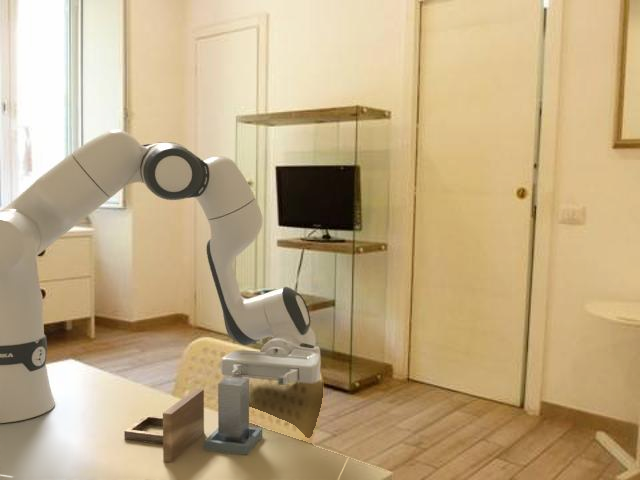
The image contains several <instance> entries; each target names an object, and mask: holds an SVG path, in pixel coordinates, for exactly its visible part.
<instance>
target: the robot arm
mask: <svg viewBox="0 0 640 480" xmlns="http://www.w3.org/2000/svg"><path fill="white" fill-rule="evenodd" d="M134 183H135V184H136V183H142V184H144V185H145V187H146V188H147V189H148V190H149V191H150V192H152V194H154V195H155V196H157V197H158V198H159V199H164V200H167V201H168V200H169V201H180V200H184V199H190V198H195V199H196V200H197V202H198V203H199V205H200V207H201V208H202V211H203V212H204V215H205V217H206V219H207V221H208V224H209V227H210V239H209V240H208V241H207V243H206V255H207V260H208V264H209V269H210V272H211V275H212V280H213V282H214V286H215V290H216V292H217V296H218V299H219V303H220V306H221V310H222V313H223V314H222V315H223V321H224V326H225V330H226V334H227V335H228V337H229V338H230V339H231V340H233V341H234V342H236V343H238V344H240V345H242V346H248V345H252V344H254V343H257V342H259V341H261V340H264V339H267V338H270V337H272V338H271V339H270V340H268V341H267V342H266V343H265V344H264V345H263V346H262V347H261V349H260V351H257V350H246V349H243V350H242V349H239V350H235V351H231V352H230V353H228V354H226V355H223V356H222V357H221V358H220V373H221V374H222V375H223V376H225V377H227V376H229V377H239V378H249V379H257V380H259V379H260V380H267V381H269V380H270V381H278V383H277V384H278V385H279V386H280V385H281V386H287V385H288V384H291V383H300V384H301V383H302V384H309V385H311V384H317V383H318V382H319V381H320V378H321V366H322V361H321V348H320V346H318V345H316V343H317V342H316V335H315V333H314V330H313V329H312V327H311V317H310V312H309V308H308V306H307V303H306V301H305V299H304V297H303V296H302V295H301V294H300V293H298V292H297V291H296V290H294V289H293V288H290V287H288V286H284V287H281V288H277V289H274V290H270V291H267V292H265V293H262V294H260V295H256V296H253V297H250V298H245V297H244V296H243V295H242V294H241V291H240V288H239V284H238V281H237V277H236V274H235V271H234V261H235V259H236V258H237V257H238V256H239V255H240V254H241V253H242V252H244V251H245V250H246V249H247V248H248V247H250V245H251V244H252V243H253V242H254V241H255V240H256V238H258V236H259V234H260V233H261V229H262V226H263V214H262V211H261V209H260V205H259V203H258V201H257V198H256V196H255V194H254V192H253V190H252V189H251V187H250V184H249V183H248V181H247V179H246V177H245V176H244V174H243V173H242V171H241V169H240V168H239V167H238V165H237V164H236V163H235V161H234V160H233V159H231V158H230V157H227V156H212V157H210V158H207V159H205V160H203V159H201V158H200V157H198V156H196V154H194V152H192V151H190V150H189V149H187V148H186V147H185V146H184V145H181V144H180V143H176V142H172V141H171V142H170V141H164V142H162V141H161V142H160V141H159V142H154V143H147V144H141V143H140V142H139V141H138V140H137V139H136V138H135V137H134V136H133V135H132V134H130V133H129V132H127V131H124V130H121V129H110V130H109V131H107V132H104V133H102V134H100V135H98V136H96V137H94V138H93V139H91V140H89V141H87V142H86V143H84V144H83V145H81V146H80V147H78V148H77V149H75V150H74V151H73V152H72V153H70V154H69V155H67V156H66V157H65V158H63V159H62V160H60V161H59V162H58V163H57V164H55V165H54V166H53V167H52V168H51V169H49V170H48V171H47V172H45V173H44V174H42V175H41V176H40V177H39V178H37V179H36V180H35V181H34V182H33V183H32V184H31V185H30V186H29V187H27V188H26V190H25V191H23V192H22V193H21V194H20V195H19V196H17V197H16V198H14V200H12V201H11V202H10V203H9V204H8V205H7V206H5V207H4V208H2V209H1V210H0V424H4V423H13V422H14V423H15V422H19V421H24V420H28V419H33V418H34V417H38V416H41V415H43V414H45V413H48V412H49V411H50V410H52V409H53V408H54V407H55V405H56V401H55V398H54V395H53V392H52V389H51V383H50V379H49V374H48V368H47V355H48V345H47V344H48V342H47V341H48V340H47V335H46V334H45V332H44V331H45V328H44V327H45V326H44V299H43V298H44V297H43V294H42V293H43V292H42V289H41V284H40V277H39V271H38V263H37V257H38V255H40V254H42V253H43V252H44V251H45V250H47V249H48V248H49V247H50V246H52V245H53V244H54V243H56V241H58V240H59V239H60V238H61V237H63V236H65V234H66V233H68V232H70V231H71V230H72V229H73V228H74V227H75V226H77V225H78V224H79V223H81V222H82V221H83V220H85V219H86V218H87V217H88V216H90V215H91V214H92V213H93V212H94V211H96V210H97V209H98V208H100V207H102V205H104V204H105V203H106V202H108V201H109V200H110V199H111V198H113V197H114V196H116V194H118V193H119V192H120V191H121V190H122V189H124V188H126V187H127V186H129V185H132V184H134Z"/></svg>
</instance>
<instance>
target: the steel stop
mask: <svg viewBox="0 0 640 480" xmlns="http://www.w3.org/2000/svg"><path fill="white" fill-rule="evenodd" d="M217 388H218V389H217V392H218V393H217V395H218V396H217V400H218V401H217V402H218V403H217V405H218V406H217V411H218V412H217V413H218V414H217V418H218V425H217V426H218V427H217V428H218V441H225V442H233V443H241V444H244V443H245V442H246V441H247V440H248V439H249V438H250V437H249V427H250V378H246V377H242V378H239V377H232V376H225V377H224V378H223V379H222V380H221V381H219V383H217Z"/></svg>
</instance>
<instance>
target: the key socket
mask: <svg viewBox="0 0 640 480" xmlns="http://www.w3.org/2000/svg"><path fill="white" fill-rule="evenodd" d="M148 426H155V427H162V428H163V416H161V415H160V416H159V415H151V414H150V415H149V414H146V415H145V416H144V417H142V418H140V419H139V420H138V421H136V422H135V423H134V424H132V425H131V426H129V427H128V428H126V429H124V435H123V436H124V440H128V441H135V442H143V443H148V444H149V443H150V444H157V445H158V444H159V445H163V432H162V433H160V432H153V431H145V430H144V429H145V428H146V427H148Z"/></svg>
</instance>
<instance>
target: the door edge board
mask: <svg viewBox="0 0 640 480" xmlns="http://www.w3.org/2000/svg"><path fill="white" fill-rule="evenodd" d="M204 390H205V389H204V388H195V389H194V390H192V391H191V392H189V393H188V394H186V395H185V396H184V397H183V398H181V399H180V400H178V401H177V402H176V403H175V404H173V405H172V406H170V407H169V408H168V409H166V410H165V411H164V412H162V417H163V427H162V433H163V444H162V447H163V448H162V451H163V453H162V455H163V457H162V458H163V459H162V461H163V462H166V463H167V462H168V463H174V461H175V460H176V459H177V458H178V457H179V456H181V454H183V453H184V452H185V451H186V450H187V449H188V448H189V447H191V446H192V444H194V443H195V442H196V441H197V440H198V439H199V438H200V437H201V436H203V434H204V433H205V400H204V399H205V396H204V395H205V391H204Z"/></svg>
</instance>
